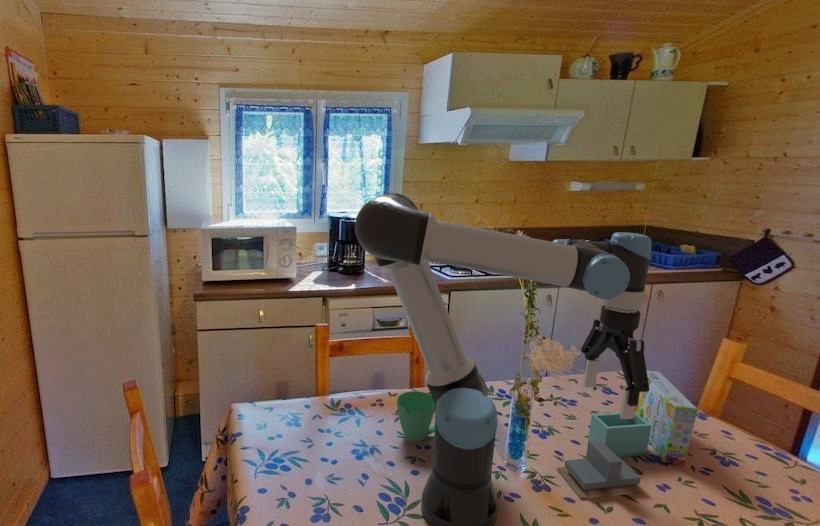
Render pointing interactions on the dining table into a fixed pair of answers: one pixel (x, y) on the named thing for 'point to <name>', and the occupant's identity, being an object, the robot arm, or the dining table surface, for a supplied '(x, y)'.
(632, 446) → the tub
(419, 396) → the mug
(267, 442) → the dining table surface
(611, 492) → the plate
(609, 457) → the lid
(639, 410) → the snack box
